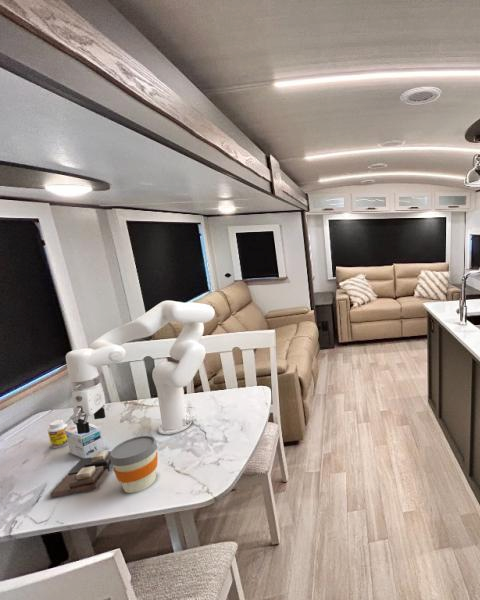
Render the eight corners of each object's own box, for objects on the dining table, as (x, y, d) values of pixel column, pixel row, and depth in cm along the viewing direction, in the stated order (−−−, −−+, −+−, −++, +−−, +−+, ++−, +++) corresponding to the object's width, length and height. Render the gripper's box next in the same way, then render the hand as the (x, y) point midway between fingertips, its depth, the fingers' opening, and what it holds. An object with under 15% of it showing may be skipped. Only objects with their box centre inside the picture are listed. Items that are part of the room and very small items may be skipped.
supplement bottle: (49, 450, 128) (44, 427, 126) (54, 442, 133) (49, 420, 130) (68, 445, 131) (63, 423, 129) (72, 438, 136) (67, 417, 133)
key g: (95, 470, 113) (94, 465, 113) (90, 477, 110) (89, 472, 109) (83, 472, 112) (82, 467, 112) (77, 480, 109) (75, 475, 108)
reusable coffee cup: (152, 492, 109) (146, 455, 105) (108, 500, 105) (100, 462, 102) (167, 467, 120) (162, 432, 117) (128, 473, 117) (121, 438, 114)
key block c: (120, 457, 125) (118, 448, 124) (109, 471, 118) (108, 462, 117) (82, 463, 121) (80, 454, 120) (68, 478, 114) (66, 469, 113)
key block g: (108, 473, 117) (106, 464, 116) (96, 489, 109) (94, 479, 109) (66, 481, 113) (64, 471, 112) (51, 498, 105) (49, 488, 105)
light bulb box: (106, 449, 129) (101, 426, 127) (85, 460, 123) (80, 435, 121) (89, 443, 133) (85, 420, 130) (69, 453, 126) (63, 429, 124)
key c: (109, 454, 122) (108, 449, 121) (104, 460, 118) (103, 455, 118) (97, 456, 120) (96, 451, 120) (92, 462, 117) (91, 457, 117)
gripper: (83, 392, 107) (90, 437, 110) (111, 372, 123) (117, 412, 126) (54, 395, 104) (63, 441, 107) (87, 374, 120) (93, 414, 123)
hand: (92, 425), depth 117 cm, fingers open, 9 cm apart
